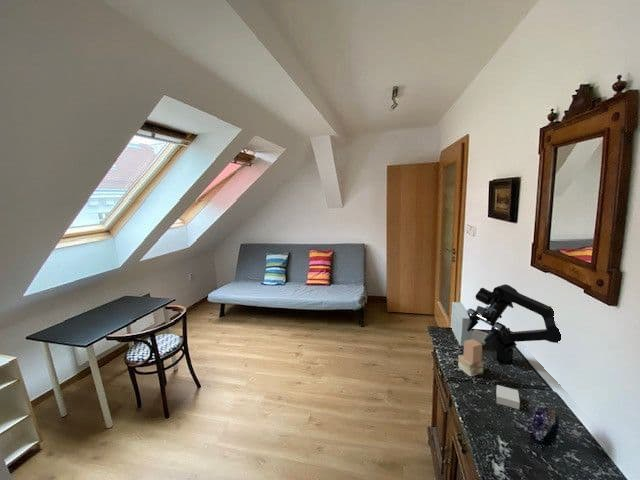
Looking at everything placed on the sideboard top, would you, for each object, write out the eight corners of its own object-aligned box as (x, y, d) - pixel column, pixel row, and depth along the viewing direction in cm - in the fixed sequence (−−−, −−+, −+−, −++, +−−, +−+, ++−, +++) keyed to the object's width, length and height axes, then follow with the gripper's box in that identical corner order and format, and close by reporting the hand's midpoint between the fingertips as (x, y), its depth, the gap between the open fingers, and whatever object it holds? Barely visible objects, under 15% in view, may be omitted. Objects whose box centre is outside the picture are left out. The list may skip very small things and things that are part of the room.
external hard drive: (466, 340, 150) (473, 331, 159) (483, 346, 145) (490, 336, 153) (466, 338, 150) (474, 328, 159) (483, 343, 144) (490, 333, 153)
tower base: (470, 364, 131) (470, 358, 130) (482, 373, 124) (483, 367, 124) (458, 367, 129) (458, 361, 128) (470, 377, 122) (470, 371, 122)
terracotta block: (471, 355, 128) (472, 338, 127) (481, 361, 123) (482, 344, 122) (463, 357, 126) (464, 341, 125) (472, 363, 122) (473, 346, 120)
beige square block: (471, 358, 130) (471, 352, 130) (483, 367, 124) (483, 361, 123) (458, 361, 129) (458, 355, 128) (469, 370, 122) (469, 364, 122)
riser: (496, 391, 113) (496, 384, 112) (517, 397, 109) (517, 390, 109) (496, 403, 107) (497, 396, 107) (519, 409, 104) (519, 402, 103)
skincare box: (471, 347, 144) (473, 318, 141) (460, 346, 145) (461, 318, 142) (460, 327, 164) (461, 301, 161) (450, 326, 165) (451, 301, 162)
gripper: (470, 292, 136) (451, 318, 135) (507, 309, 118) (485, 338, 117) (481, 304, 140) (463, 329, 139) (518, 322, 123) (497, 350, 121)
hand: (475, 335), depth 129 cm, fingers open, 9 cm apart
